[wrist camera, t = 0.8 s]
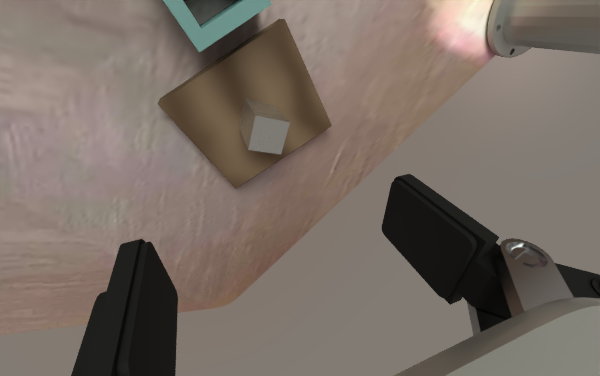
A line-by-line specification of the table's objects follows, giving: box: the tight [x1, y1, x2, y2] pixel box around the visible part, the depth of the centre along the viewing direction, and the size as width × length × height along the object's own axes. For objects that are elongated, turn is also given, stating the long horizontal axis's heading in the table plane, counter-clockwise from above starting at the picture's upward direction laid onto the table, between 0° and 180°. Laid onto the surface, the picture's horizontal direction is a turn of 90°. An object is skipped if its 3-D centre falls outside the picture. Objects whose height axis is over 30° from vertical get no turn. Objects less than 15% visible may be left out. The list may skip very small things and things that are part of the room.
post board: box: [158, 19, 332, 188], centre depth 27 cm, size 15×13×8 cm
